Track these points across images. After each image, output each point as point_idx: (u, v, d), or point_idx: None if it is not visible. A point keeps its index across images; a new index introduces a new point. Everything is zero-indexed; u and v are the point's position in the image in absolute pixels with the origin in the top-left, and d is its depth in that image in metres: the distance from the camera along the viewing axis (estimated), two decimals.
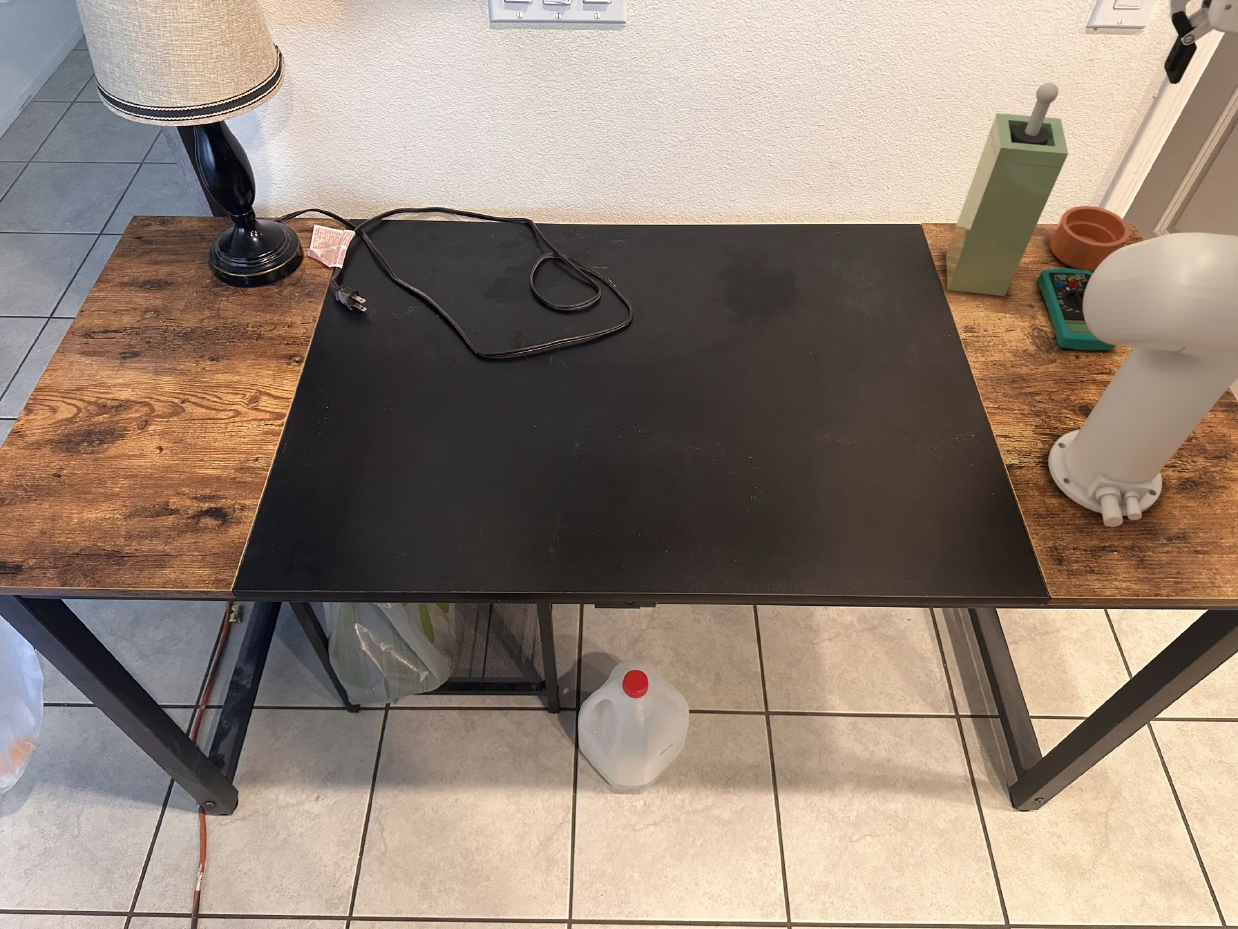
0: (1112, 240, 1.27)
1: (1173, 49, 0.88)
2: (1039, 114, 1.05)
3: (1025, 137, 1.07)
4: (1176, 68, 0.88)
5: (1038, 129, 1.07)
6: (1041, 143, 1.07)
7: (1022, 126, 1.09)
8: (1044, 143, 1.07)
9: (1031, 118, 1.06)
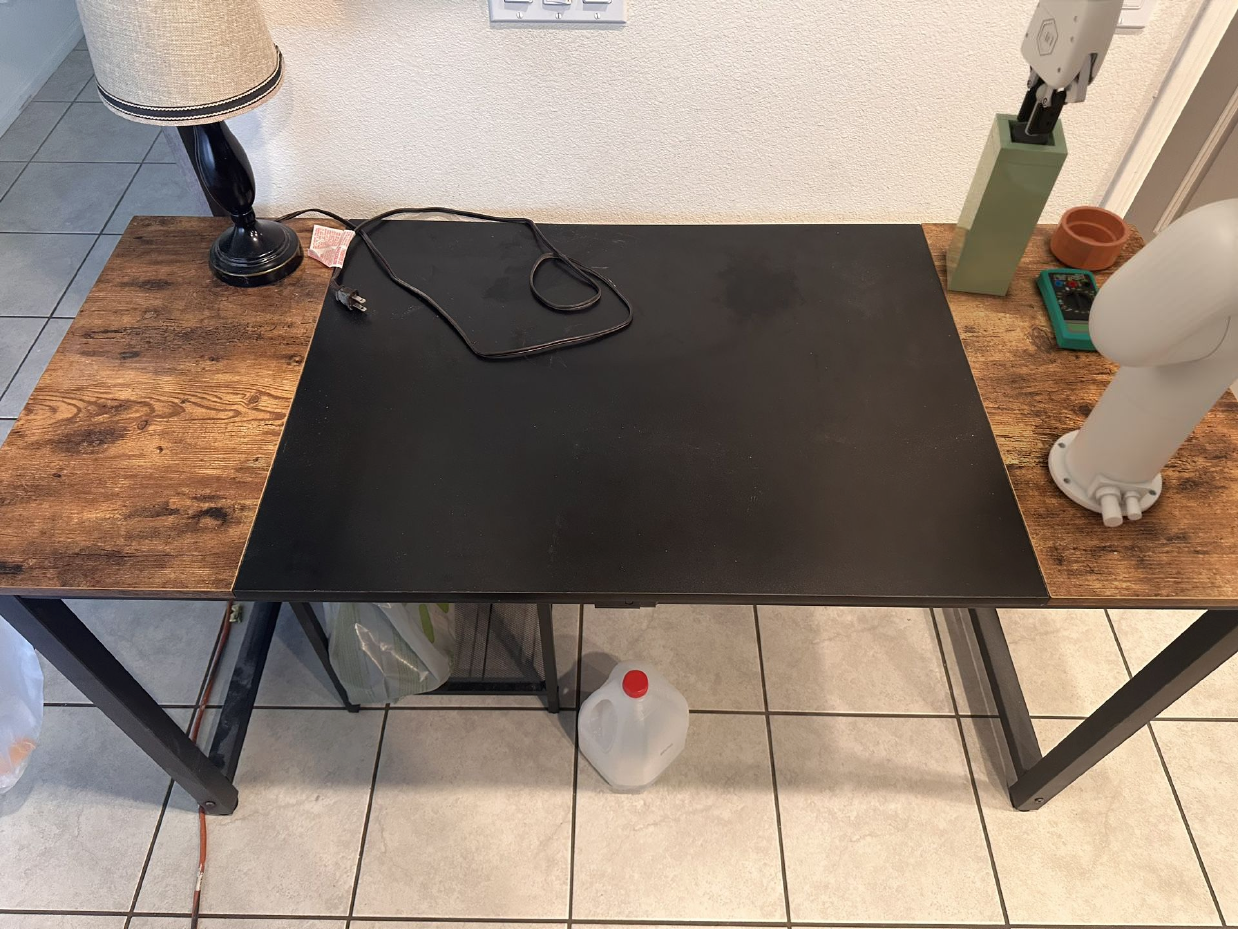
0: (1112, 240, 1.27)
1: None
2: None
3: (1025, 137, 1.07)
4: None
5: None
6: (1041, 143, 1.07)
7: (1022, 126, 1.09)
8: (1044, 143, 1.07)
9: (1031, 118, 1.06)
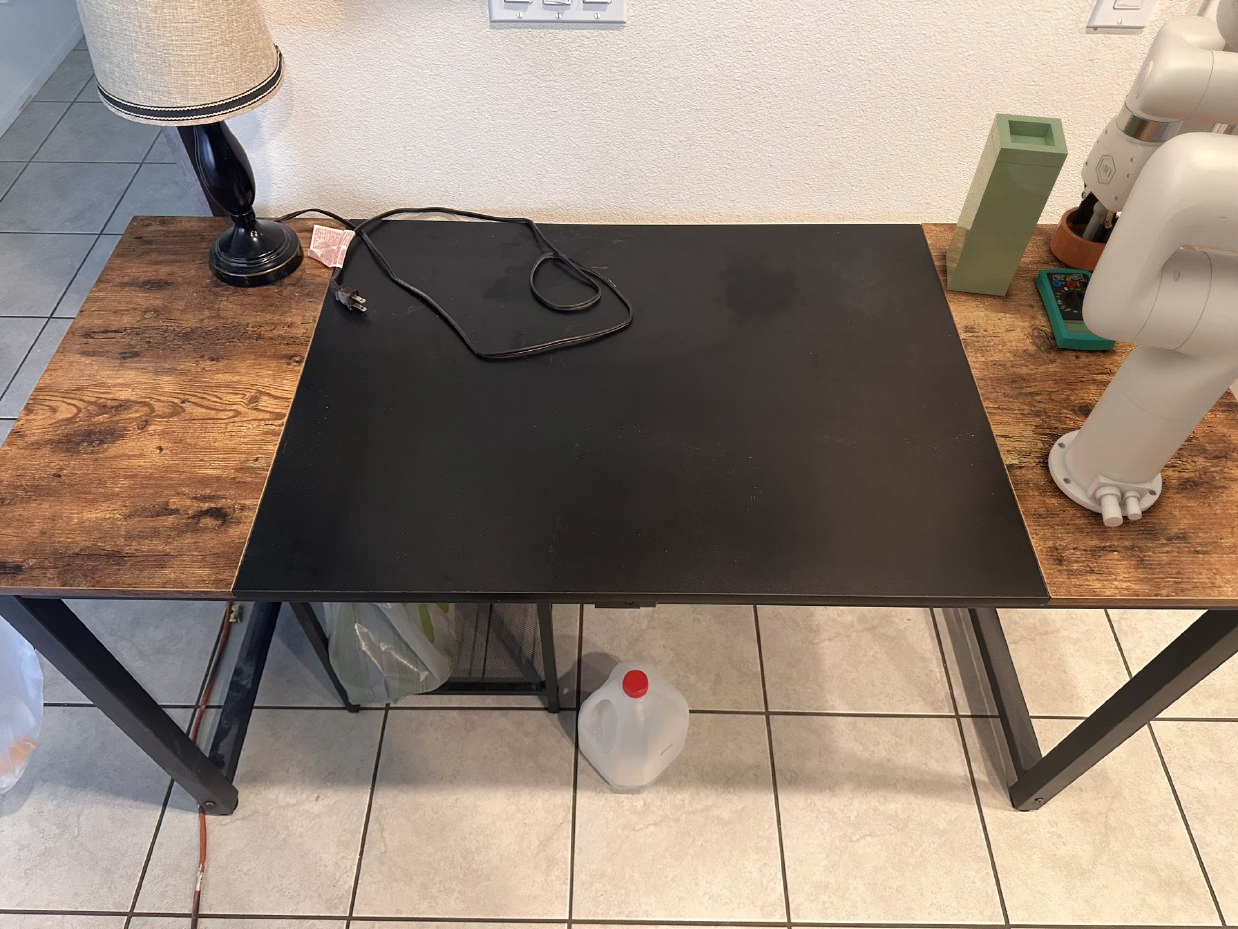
0: None
1: None
2: (1095, 224, 1.24)
3: None
4: None
5: None
6: None
7: (1079, 231, 1.28)
8: None
9: (1088, 227, 1.25)
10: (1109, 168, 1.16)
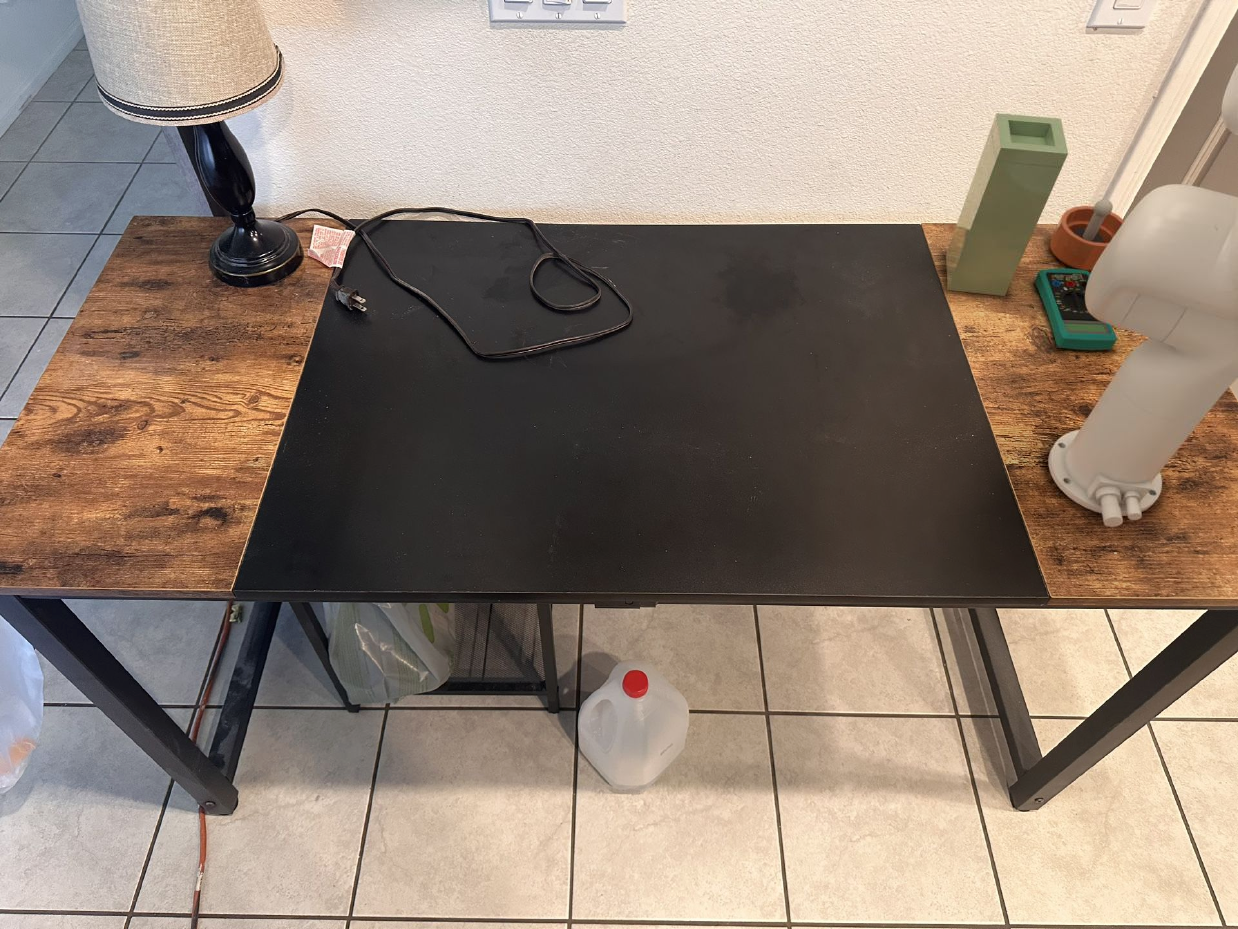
0: None
1: None
2: (1095, 224, 1.24)
3: None
4: None
5: (1094, 236, 1.26)
6: None
7: (1079, 231, 1.28)
8: None
9: (1088, 227, 1.25)
10: None
